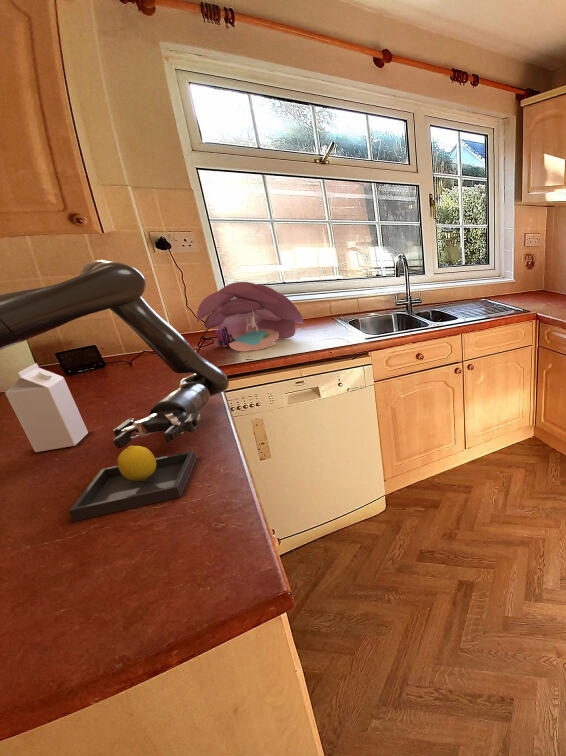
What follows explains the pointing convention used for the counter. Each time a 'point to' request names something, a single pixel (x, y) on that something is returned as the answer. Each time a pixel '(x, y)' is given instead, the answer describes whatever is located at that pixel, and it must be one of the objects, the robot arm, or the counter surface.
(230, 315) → the purple shell playset
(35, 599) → the counter surface
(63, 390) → the milk carton
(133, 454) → the lemon
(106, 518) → the counter surface
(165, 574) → the counter surface
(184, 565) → the counter surface
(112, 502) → the dark grey tray
